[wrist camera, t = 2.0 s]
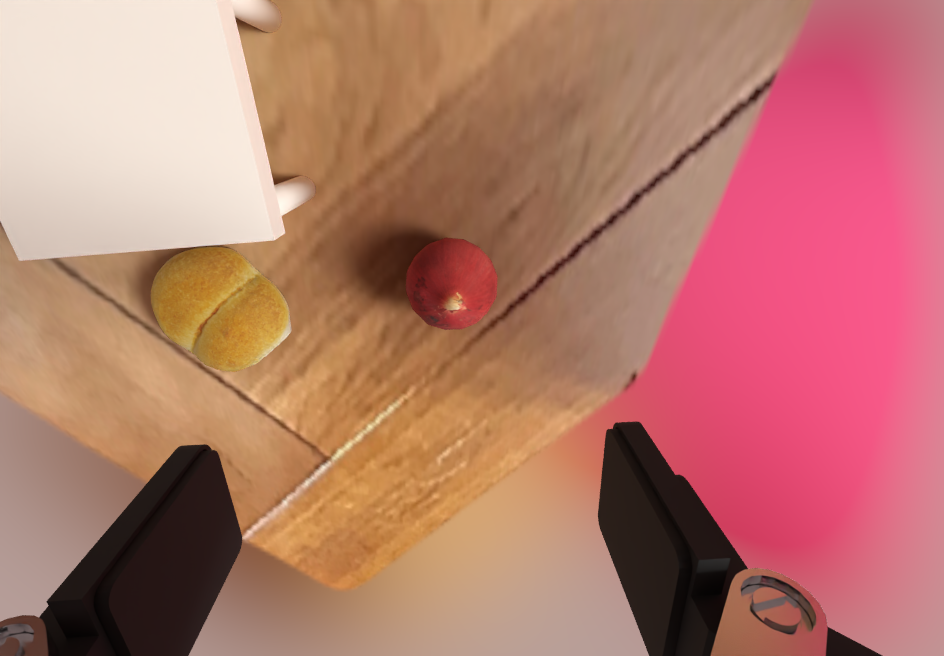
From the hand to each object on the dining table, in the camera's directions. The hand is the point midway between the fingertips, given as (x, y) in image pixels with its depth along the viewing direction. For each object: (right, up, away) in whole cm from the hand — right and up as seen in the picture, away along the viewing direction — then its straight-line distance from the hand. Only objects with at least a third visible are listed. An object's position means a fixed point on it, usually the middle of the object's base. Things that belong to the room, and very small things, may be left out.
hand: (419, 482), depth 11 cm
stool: (-15, +17, +18) cm, 29 cm away
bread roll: (-16, +5, +23) cm, 29 cm away
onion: (0, +8, +22) cm, 24 cm away
